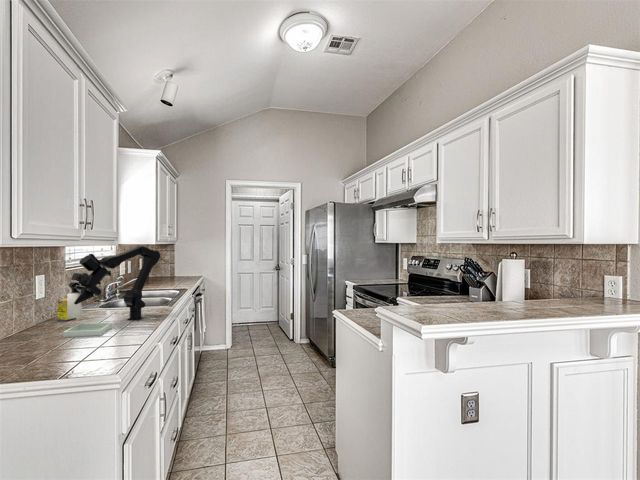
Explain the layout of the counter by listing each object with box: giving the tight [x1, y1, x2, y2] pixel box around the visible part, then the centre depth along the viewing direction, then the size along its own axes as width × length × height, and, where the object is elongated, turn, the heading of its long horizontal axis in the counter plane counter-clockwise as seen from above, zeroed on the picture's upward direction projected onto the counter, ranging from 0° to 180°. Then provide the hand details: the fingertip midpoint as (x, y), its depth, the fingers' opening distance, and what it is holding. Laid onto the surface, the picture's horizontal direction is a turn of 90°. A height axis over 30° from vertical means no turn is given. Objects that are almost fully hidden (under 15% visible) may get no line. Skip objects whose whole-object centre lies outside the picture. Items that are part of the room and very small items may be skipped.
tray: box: [62, 322, 113, 338], centre depth 167 cm, size 15×15×2 cm
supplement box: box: [57, 298, 77, 322], centre depth 191 cm, size 6×6×11 cm
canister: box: [66, 292, 83, 319], centre depth 168 cm, size 6×6×11 cm
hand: (71, 303), depth 167 cm, fingers closed on canister, 5 cm apart
